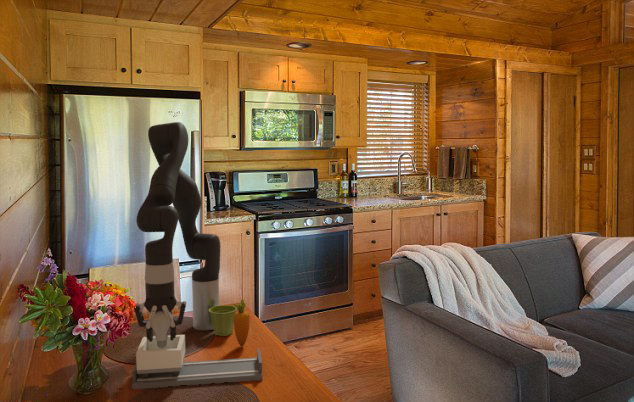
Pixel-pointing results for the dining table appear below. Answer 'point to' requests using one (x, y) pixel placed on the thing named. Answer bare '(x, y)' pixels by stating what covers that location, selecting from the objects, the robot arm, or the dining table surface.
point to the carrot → (241, 323)
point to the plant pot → (223, 319)
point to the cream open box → (160, 356)
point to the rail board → (204, 373)
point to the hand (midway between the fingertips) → (161, 339)
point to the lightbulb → (160, 328)
